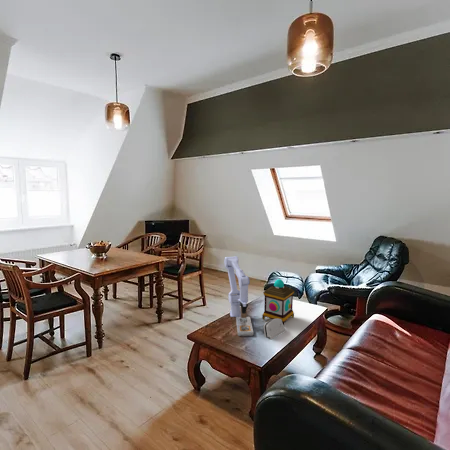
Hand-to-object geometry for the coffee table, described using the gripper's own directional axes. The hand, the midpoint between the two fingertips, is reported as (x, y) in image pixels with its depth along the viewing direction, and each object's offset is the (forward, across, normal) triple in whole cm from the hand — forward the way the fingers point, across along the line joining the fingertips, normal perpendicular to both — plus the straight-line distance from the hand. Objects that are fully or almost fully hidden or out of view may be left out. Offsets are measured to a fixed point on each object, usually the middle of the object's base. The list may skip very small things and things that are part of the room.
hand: (243, 312), depth 209 cm
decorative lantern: (+9, -7, +26) cm, 28 cm away
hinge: (+9, +14, +19) cm, 25 cm away
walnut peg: (+3, 0, 0) cm, 3 cm away
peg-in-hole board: (+8, +6, 0) cm, 10 cm away
